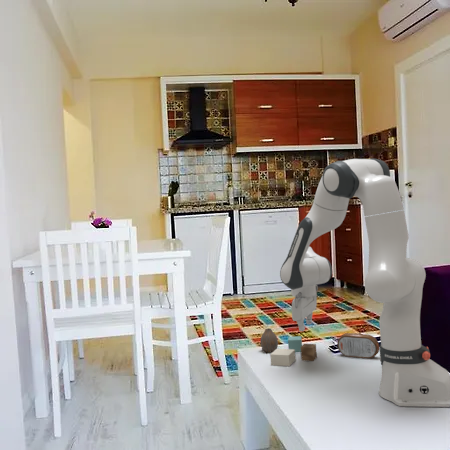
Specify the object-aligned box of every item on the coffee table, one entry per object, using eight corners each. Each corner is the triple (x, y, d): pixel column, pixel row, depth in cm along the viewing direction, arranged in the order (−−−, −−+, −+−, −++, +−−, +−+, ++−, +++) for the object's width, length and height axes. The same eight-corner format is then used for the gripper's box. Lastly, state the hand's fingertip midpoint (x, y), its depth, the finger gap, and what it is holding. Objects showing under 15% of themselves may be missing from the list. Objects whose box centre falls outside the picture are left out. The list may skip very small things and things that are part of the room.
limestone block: (295, 360, 187) (294, 349, 187) (289, 366, 181) (288, 355, 181) (277, 359, 190) (276, 348, 190) (271, 365, 184) (270, 354, 184)
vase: (258, 350, 204) (256, 328, 204) (274, 347, 206) (272, 326, 206) (265, 354, 197) (263, 332, 197) (281, 351, 199) (279, 329, 199)
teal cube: (302, 348, 201) (301, 336, 201) (302, 352, 196) (300, 339, 196) (289, 349, 202) (288, 336, 202) (289, 353, 197) (287, 340, 197)
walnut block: (316, 357, 189) (315, 344, 188) (313, 361, 185) (312, 347, 184) (305, 356, 191) (304, 343, 190) (301, 360, 187) (300, 347, 186)
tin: (380, 357, 182) (378, 334, 182) (378, 360, 179) (376, 336, 179) (340, 354, 190) (338, 331, 190) (337, 356, 188) (335, 334, 187)
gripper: (303, 296, 176) (306, 335, 177) (318, 285, 194) (320, 320, 195) (286, 295, 179) (288, 334, 179) (302, 284, 197) (304, 320, 198)
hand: (305, 327), depth 187 cm, fingers open, 8 cm apart
